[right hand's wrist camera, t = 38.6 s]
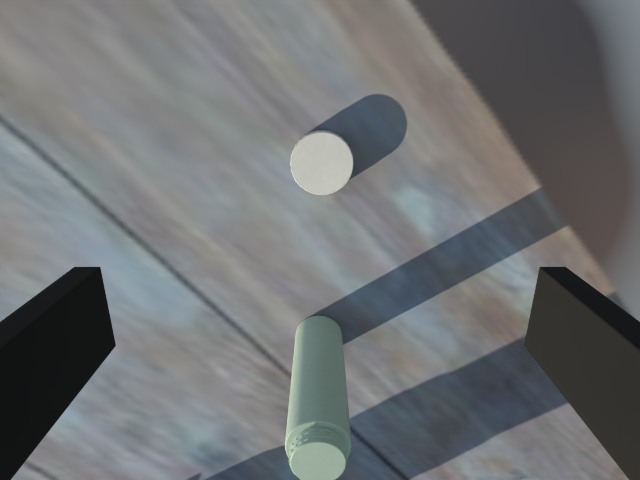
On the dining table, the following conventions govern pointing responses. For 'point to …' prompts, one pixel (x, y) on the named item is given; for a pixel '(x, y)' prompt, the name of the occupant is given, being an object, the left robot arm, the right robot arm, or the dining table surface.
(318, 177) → the lid
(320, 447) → the jar
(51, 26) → the dining table surface
